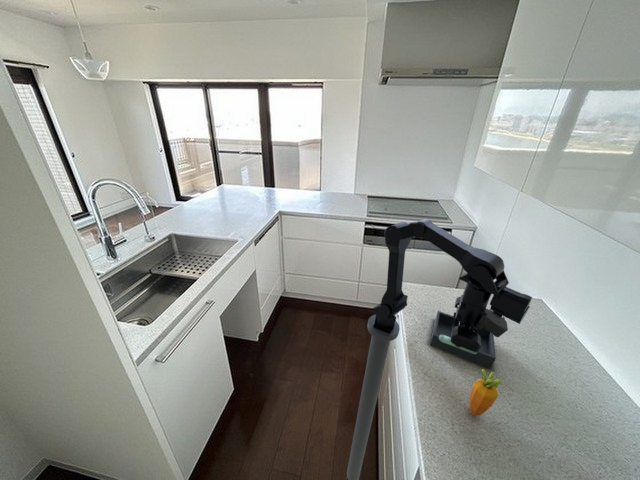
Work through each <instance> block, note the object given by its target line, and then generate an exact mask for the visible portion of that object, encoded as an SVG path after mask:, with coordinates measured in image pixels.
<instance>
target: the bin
mask: <svg viewBox="0 0 640 480" xmlns="http://www.w3.org/2000/svg"><path fill="white" fill-rule="evenodd" d="M452 325H454V321H453V315H452V314H448V313H446V312H442V311H439V310H437V313H436V315H435V318H434V324H433V328H432V334H431V337H430V342H429V346H432V347H434V348H436V349H439V350H442V351H444V352H447V353H449V354H451V355H454V356H457V357H459V358H462V359H464V360H467V361H469V362H471V363H473V364H474V363H475V364H477V365H479V366H482V367H484V368H487V369H489V370H491V369H492V368H493V366H494V363H495V361H496V359H497V356H496V345H495V338H494V337H495V336H494V335H493V334H492V333H491V332H489V331H488V330H486V329H485V328H483V327H482V329H478V328H476V327H475V328H476V329H477V333H478V334H479V336H480V337H481V347H480V349H479V351H478V352H477V353H476V354H472V353H470V352H467V351H464V350H462V349H459V348H457V347H454V346H452V345H449V344H446V343H444V342H441V341H440V340H439V336H440V335H445V336H448V337H450V338H451V333H452Z"/></svg>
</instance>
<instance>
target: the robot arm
mask: <svg viewBox="0 0 640 480" xmlns="http://www.w3.org/2000/svg"><path fill="white" fill-rule="evenodd" d="M418 236H420V237H422V238H423V239H425V240H426V241H427V242H429V243H430V244H432V245H434V246H435V247H436V248H438V249H439V250H441V251H443V252H444V253H445V254H447V255H449V256H450V257H452V258H453V259H454V260H456V261H457V262H458V263H459V265H460V266H461V267H462V269H463V271H464V273H463V274H461V275H460V276H459V277H458V279H459V280H460V281H462V282H464V283H466V284H465V287H464V290H463V293H462V294H461V295H460V296H458V297H455V302H454V309H456V310H455V312H453V315H452V316H453V321H454V325H452V333H451V340H450V341H451V342H452V344H455V346H456V347H459V348H460V347H463V348H465V349H468V350H470V351H473V352H478V351H479V349H480V347H481V337H480V336H479V334H478V333H477V329H476V328H478V329H482V327H483V328H485V329H486V330H488V331H489V332H491V333H492V334H493V335H494V337H496V338H500V337H501V336H503V335H504V334H505V333H506V332H508V331H509V327H508V322H507V320H506V319H509V320H510V321H512V322H515V323H517V324H519V325H521V323H522V322H523V320H524V318H525V317H526V315H527V313H528V311H529V309H530V307H531V306H530V305H531V301H532V299H533V297H532V296H531V295H528V294H525V293H522V292H519V291H517V290H515V289H512V288H510V287H508V285H510V282H509V280H508V276H507V275H506V273H505V263H504V260H503V259H502V258H501V257H500V256H499V255H497V254H495V253H492V252H490V251H488V250H485V249H483V248H478V247H474V246H471V245H470V244H467V243H466V242H464V241H463V240H461V239H460V238H458V237H456V236H454V235H453V234H451V233H450V232H449V231H447V230H444V229H443V228H442V227H440V226H438V225H436V224H435V223H433V221H432V220H430V219H428V218H424V219H421V220H418V221H413V222H410V223H408V222H406V221H400V222H397V223H395V224H392V225H389V226H388V227H386V228H385V229H384V243H385V246H386V248H387V249H388V265H387V280H386V290H385V292H384V293H383V295H382V298H381V301H380V303H378V304H377V305H375V306H374V307H372V309H373V310H372V311H373V315H376V317H375V322H374V324H373V327H374V328H376V329H379V330H381V331H384V332H386V333H389V334H390V333H391V330H393V329H394V326H395V322H396V321H397V318H398V317H397V316H396V315H397V314H398V313H400V312H401V311H403V310H404V309H405V308H406V307H407V306H408V298H409V297H408V295H406V294H404V292H403V280H404V279H403V278H404V268H405V259H406V258H405V257H406V256H405V255H406V251H407V249H408V247H409V245H410V243H411V241H412V238H413V237H418ZM488 304H489V306H490V308H489V309H488V308H487V307H488ZM475 327H476V328H475Z"/></svg>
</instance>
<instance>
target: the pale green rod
mask: <svg viewBox="0 0 640 480" xmlns="http://www.w3.org/2000/svg"><path fill="white" fill-rule="evenodd" d="M439 340H440V341H441V342H444V343H446V344H449V345H452V346H454V347H456V346H455V344H452V342H451V341H450V340H451V338H450V337H448V336H445V335H440V336H439ZM457 348H459V347H457ZM459 349H462V350H464V351H467V352H470V353H472V354H476V353H477V352H473V351H470V350H468V349H465V348H463V347H460V348H459Z"/></svg>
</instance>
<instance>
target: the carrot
mask: <svg viewBox="0 0 640 480" xmlns="http://www.w3.org/2000/svg"><path fill="white" fill-rule="evenodd" d="M481 373H482V378H479V379H476V380H475V381H474V382H473V385H472V387H471V390H470V393H469V398H468V399H469V400H468V405H469V410H470V414H471V415H472V416H473V417H477V416H478V417H479V416H481V415H483V414H484V413H485V412H487V411H488V410H489V409H490V408H491V407H492V406H493V405H494V404H495V401H496V400H497V399H498V397H499V392H498V389H497V388H500V385H499V384H501V383H502V380H501V379H500V378H496V379H494V380H493V376H495V372H494V371H491V372H490V373H489V375H488V377H487V373H486V370H485V369H484V368H482V369H481Z"/></svg>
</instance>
